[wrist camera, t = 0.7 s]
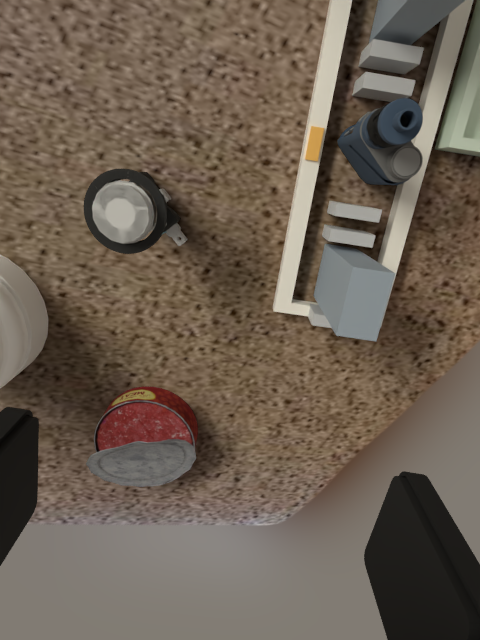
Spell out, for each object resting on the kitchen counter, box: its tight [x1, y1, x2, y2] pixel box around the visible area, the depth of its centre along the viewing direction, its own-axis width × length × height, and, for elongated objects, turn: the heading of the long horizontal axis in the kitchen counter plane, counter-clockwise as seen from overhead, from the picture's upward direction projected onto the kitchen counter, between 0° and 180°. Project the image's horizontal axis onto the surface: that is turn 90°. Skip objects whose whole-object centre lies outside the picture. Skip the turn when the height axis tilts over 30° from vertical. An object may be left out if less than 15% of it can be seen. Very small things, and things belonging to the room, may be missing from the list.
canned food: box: [86, 387, 198, 487], centre depth 40 cm, size 11×10×10 cm
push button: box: [84, 169, 187, 254], centre depth 30 cm, size 7×5×10 cm
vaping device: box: [337, 98, 423, 185], centre depth 28 cm, size 3×5×12 cm, turn 39°
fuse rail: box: [273, 0, 473, 341], centre depth 29 cm, size 28×10×10 cm, turn 171°
